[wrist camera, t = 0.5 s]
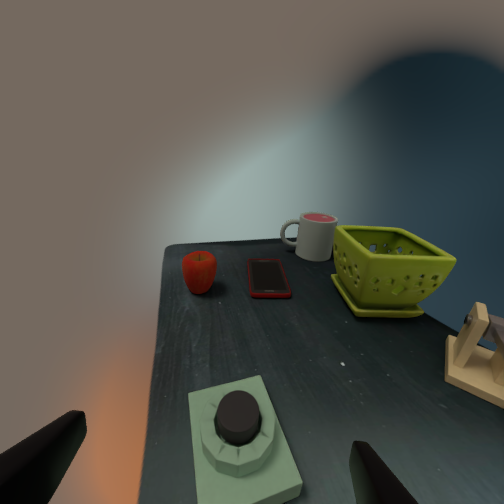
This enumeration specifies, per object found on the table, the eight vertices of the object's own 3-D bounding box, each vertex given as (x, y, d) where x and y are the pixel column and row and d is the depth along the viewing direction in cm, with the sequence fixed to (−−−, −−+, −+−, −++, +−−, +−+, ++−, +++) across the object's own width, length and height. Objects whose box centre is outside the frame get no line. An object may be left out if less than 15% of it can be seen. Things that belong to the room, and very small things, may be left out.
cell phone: (279, 262, 58) (279, 258, 58) (291, 298, 45) (292, 294, 44) (247, 262, 58) (247, 258, 57) (250, 298, 44) (250, 293, 44)
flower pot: (348, 327, 39) (368, 255, 34) (321, 281, 51) (332, 224, 46) (431, 327, 40) (463, 257, 34) (384, 282, 52) (402, 226, 47)
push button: (263, 437, 20) (265, 424, 20) (221, 451, 19) (221, 438, 19) (251, 397, 24) (251, 385, 23) (214, 408, 22) (213, 395, 22)
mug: (325, 247, 68) (332, 213, 64) (334, 262, 60) (342, 223, 56) (277, 244, 69) (280, 210, 65) (279, 259, 60) (283, 220, 56)
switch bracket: (509, 411, 27) (553, 354, 24) (444, 381, 30) (474, 326, 27) (498, 361, 34) (531, 310, 30) (445, 340, 37) (469, 292, 33)
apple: (218, 298, 44) (218, 261, 41) (183, 301, 43) (180, 263, 40) (215, 280, 50) (215, 246, 47) (184, 282, 48) (181, 248, 45)
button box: (299, 496, 20) (306, 470, 18) (200, 539, 17) (198, 513, 16) (259, 387, 28) (261, 363, 27) (189, 406, 26) (186, 381, 24)
